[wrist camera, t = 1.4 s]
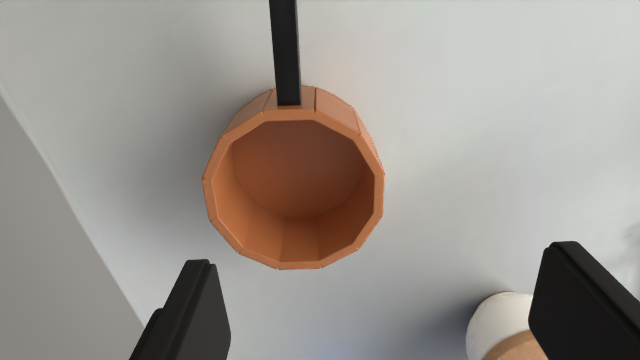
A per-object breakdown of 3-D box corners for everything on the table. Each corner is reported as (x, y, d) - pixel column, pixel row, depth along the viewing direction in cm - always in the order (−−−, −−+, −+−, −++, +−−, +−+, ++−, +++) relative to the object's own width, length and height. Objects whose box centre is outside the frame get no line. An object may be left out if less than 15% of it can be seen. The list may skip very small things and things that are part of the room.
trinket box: (451, 357, 42) (485, 447, 34) (449, 280, 38) (487, 362, 29) (552, 345, 42) (612, 434, 33) (562, 265, 37) (634, 345, 29)
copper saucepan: (199, -27, 26) (162, -35, 20) (375, -34, 26) (394, -43, 20) (236, 222, 35) (217, 272, 29) (369, 218, 35) (380, 267, 28)
